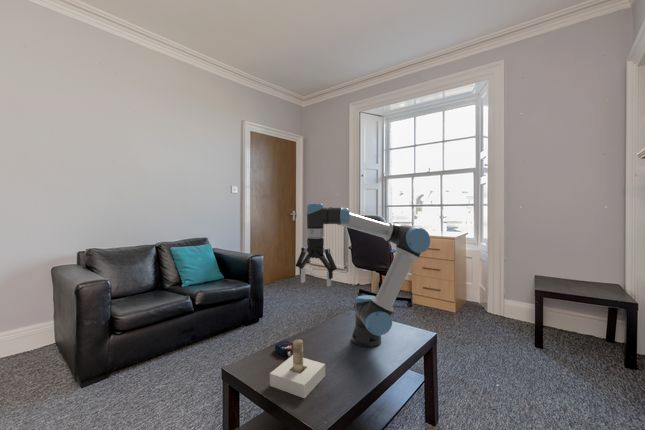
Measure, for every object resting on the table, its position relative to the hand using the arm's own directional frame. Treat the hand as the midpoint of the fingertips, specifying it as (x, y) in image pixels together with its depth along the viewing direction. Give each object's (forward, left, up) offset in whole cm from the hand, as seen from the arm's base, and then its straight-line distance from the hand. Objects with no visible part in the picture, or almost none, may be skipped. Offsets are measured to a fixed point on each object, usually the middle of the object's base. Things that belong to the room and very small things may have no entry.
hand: (315, 284), depth 133 cm
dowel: (+18, +2, -35) cm, 39 cm away
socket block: (+18, +2, -35) cm, 39 cm away
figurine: (+2, -14, -35) cm, 38 cm away
